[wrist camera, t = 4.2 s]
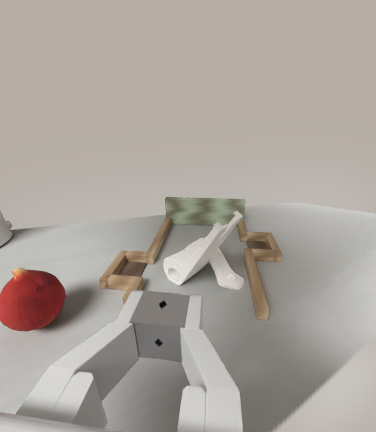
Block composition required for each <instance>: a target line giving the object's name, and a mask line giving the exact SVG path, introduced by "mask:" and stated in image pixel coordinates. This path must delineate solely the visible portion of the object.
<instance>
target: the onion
mask: <svg viewBox="0 0 376 432" xmlns="http://www.w3.org/2000/svg"><path fill="white" fill-rule="evenodd" d="M12 273H13V275H14V277H13V278H12V279H11V280H10V281H9V282H8V283H7V284H6V285H5V286H4V288H3V289H2V291H1V294H0V321H1V322H2V323H3V324H4V325H5V326H7V327H9V328H10V329H13V330H17V331H30V330H36V329H40V328H42V327H45V326H47V325H48V324H49V323H50V322H52V321H53V320H54V319H55V317H56V316H57V315H58V314H59V312H60V311H61V310H62V307H63V304H64V300H65V289H64V287H63V286H62V284H61V283H60V281H59V280H58V279H57V278H56V277H55V276H54V275H52V274H50V273H47V272H43V271H37V270H25V269H23V268H16V269H14V270H13V271H12Z"/></svg>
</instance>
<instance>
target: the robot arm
mask: <svg viewBox="0 0 376 432" xmlns="http://www.w3.org/2000/svg"><path fill="white" fill-rule="evenodd" d="M11 227H12V225H11V223H10V222H9V221H5V219H4V217H3V215H2V214H1V212H0V246H1V245H3V244H4V243H6V242H7V241H8V240H9V239H10V238H11V237H12V232H11V231H10V228H11ZM202 317H203V296H202V295H195V294H178V293H162V292H152V291H140V290H133V291H132V292H131V293H130V295H129V297H128V299H127V301H126V303H125V304H124V306H123V308H122V310H121V312H120V314H119V316H118V318H117V320H116V321H112V322H110V323H109V324H107V325H106V326H105V327H103V328H102V329H100V330H99V331H98V332H96V333H95V334H94V335H92V336H91V337H89V338H88V339H87V340H85V341H84V342H82V343H81V344H80V345H78V346H77V347H75V348H74V349H73V350H71V351H70V352H68V353H67V354H66V355H64V356H63V357H62V358H60V359H59V360H57V361H56V362H55V363H53V364H52V365H50V366H49V368H48V369H47V370H46V372H45V373H44V375H43V376H42V377H41V379H40V380H39V382H38V383H37V385H36V386H35V387H34V389H33V390H32V392H31V393H30V394H29V396H28V397H27V399H26V400H25V402H24V403H23V404H22V406H21V407H20V409H19V410H18V412H17V413H16V414H9V413H3V412H0V432H120V431H114V430H107V429H105V427H106V424H107V418H106V415H105V412H104V409H103V406H102V403H101V401H102V400H103V399H104V398H105V397H106V396H107V394H108V393H109V392H110V391H111V390H112V389H113V388H114V387H115V385H116V384H117V383H118V382H119V381H120V380H121V379H122V378H123V376H124V375H125V374H126V373H127V372H128V371H129V370H130V368H131V367H132V366H133V365H134V364H135V363H136V362H137V361H138V359H139V357H142V358H155V359H164V360H171V361H178V362H182V364H183V367H184V370H185V373H186V376H187V378H188V381H189V384H190V386H188V385H187V386H186V387H185V388H184V389H183V392H182V399H181V406H180V413H179V420H178V427H177V432H243V424H242V413H241V402H240V391H239V389H238V387H237V386H236V384H235V382H234V381H233V379H232V377H231V376H230V374H229V372H228V371H227V369H226V367H225V365H224V364H223V362H222V360H221V359H220V357H219V355H218V354H217V352H216V350H215V348H214V347H213V345H212V343H211V342H210V340H209V338H208V337H207V335H206V333H205V331H204V330H202Z"/></svg>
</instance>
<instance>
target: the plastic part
mask: <svg viewBox="0 0 376 432" xmlns="http://www.w3.org/2000/svg"><path fill="white" fill-rule="evenodd" d="M233 214H235V216H234V217H233V219H232V220H231V221H230V222H229V224H228V225H227V224H225V225H224V226H222V225H221V224H220V223H219V222H217V223H215V224H214V225H213V227H214V228H213V229H212V230H211V231H210V233H209V234H208V235H207V236H206V238H199V239H198V240H196V241H194V242H193V243H191V244H189V245H188V246H186V247H185V249H184V250H183V251H181V252H178V253H176V254H173V255H170V256H169V257H167V258H165V259H164V262H163V267H164V271H165V274H166V276H167V277H168V279H169V280H171V281H172V282H174V283H175V284H177V285H181V284H182V283H183V282H185V281H186V280H187V279H189V278H190V277H192V276H193V275H194V274H196V273H197V272H198V271H200V270H201V269H202V268H203V267H204V266H205V265H207V264H208V263H209V262H210V264H211V266H212V268H213V270H214V272H215V274H216V278H217V282H218V284H219V285H220V286H221V287H224V288H228V289H234V290H240V288H241V287H242V286H243V284H244V282H245V279H243V278H242V277H240V276H239V275H237V274H236V273H235V272H233V271H232V269H231V268H230V266H229V265H228V263H227V261H226V259H225V257H224V255H223V253H222V252H221V250H220V249H219V247H220V246H221V244H222V243H223V242H224V240H225V239H226V238H227V237H228V235H229V234H230V233H231V231H232V230H233V229H234V228H235V226H236V225H237V223H238V222H239V220H240V219H241V218H242V215H241V214H240V213H239V212H238V211H236V212H234V213H233Z"/></svg>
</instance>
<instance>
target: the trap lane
mask: <svg viewBox="0 0 376 432" xmlns="http://www.w3.org/2000/svg"><path fill="white" fill-rule="evenodd" d="M165 205H166V219H165V221H164V222H163V224H162V226H161V228H160V230H159V232H158V234H157V235H156V237H155V239H154V241H153V243H152V245H151V246H150V248H149V250H148V252H140V251H123V250H121V252H120V253H119V254H118V255H117V257H116V258H115V259H114V261H113V262H112V263H111V265H110V266H109V267H108V269H107V270H106V271H105V273H104V274H103V275H102V277H101V278H100V279H99V281H100V286H101V288H105V289H117V290H127V291H126V293H125V294H124V296H123V302H124V304H125V303H126V301H127V299H128V297H129V295H130V293H131V292H132V291H133V290H140V291H141V290H142V288H143V286H144V284H143V277H140V276H141V274H142V272H143V270H144V268H145V266H146V264H154V261H155V259H156V257H157V255H158V253H159V250H160V248H161V246H162V244H163V241H164V239H165V237H166V235H167V233H168V230H169V228H170V226H171V224H195V225H214V224H215V223H217V222H219V223H220V224H221V225H222V226H224V225H225V224H227V225H228V224H229V222H230V221H231V220H232V219H233V217H234V216H235V214H233V213H234V212H236V211H238V212H239V213H240V214H241V215H242V218H241V219H240V220H239V222H238V223H237V225H236V226H237V227H238V232H239V236H240V241H246V242H247V246H248V248H244V260H245V265H246V269H247V274H248V279H249V284H250V288H251V293H252V298H253V302H254V307H255V312H256V317H257V319H262V320H268V316H269V307H268V304H267V300H266V297H265V293H264V290H263V286H262V283H261V279H260V276H259V272H258V269H257V265H256V262H255V260H257V261H274V262H281V257H282V253H281V251H280V249H279V247H278V245H277V244H276V242H275V240H274V238H273V236H272V234H271V233H263V232H247V231H246V227H245V224H244V210H245V199H214V198H177V197H166V198H165Z"/></svg>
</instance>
